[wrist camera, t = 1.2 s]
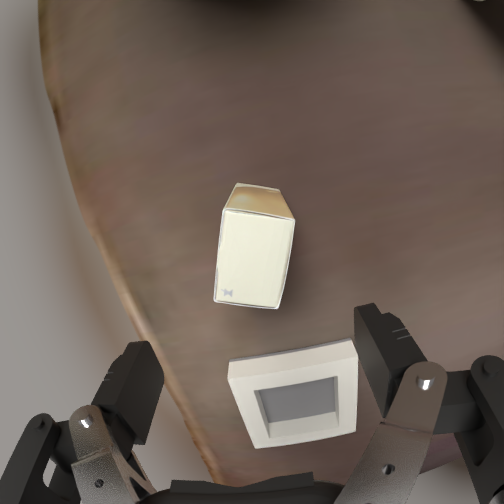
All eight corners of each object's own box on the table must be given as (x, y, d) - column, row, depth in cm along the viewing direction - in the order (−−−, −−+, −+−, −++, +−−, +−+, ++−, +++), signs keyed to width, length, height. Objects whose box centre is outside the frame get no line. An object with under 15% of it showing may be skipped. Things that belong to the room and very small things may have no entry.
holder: (350, 337, 35) (358, 355, 32) (350, 414, 40) (355, 431, 37) (229, 359, 36) (227, 378, 33) (255, 431, 42) (255, 448, 38)
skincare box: (270, 248, 31) (279, 315, 19) (227, 242, 31) (211, 307, 19) (281, 185, 29) (298, 218, 17) (235, 179, 28) (221, 207, 17)
